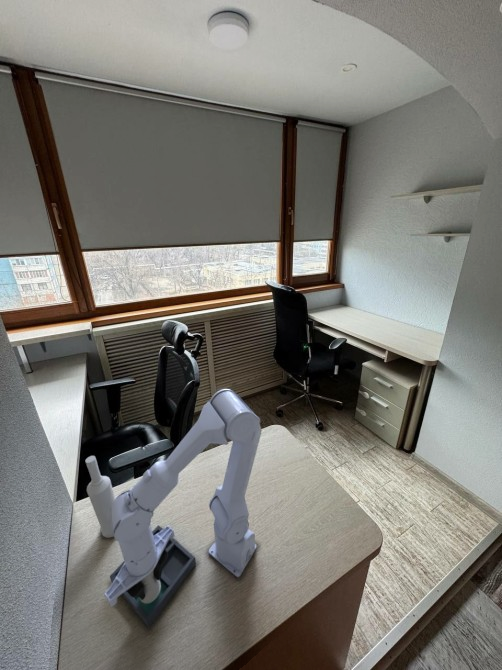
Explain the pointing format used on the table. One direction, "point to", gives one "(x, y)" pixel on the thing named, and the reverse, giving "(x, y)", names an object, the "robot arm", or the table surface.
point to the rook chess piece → (150, 588)
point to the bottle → (101, 497)
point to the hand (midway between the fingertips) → (149, 585)
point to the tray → (162, 580)
